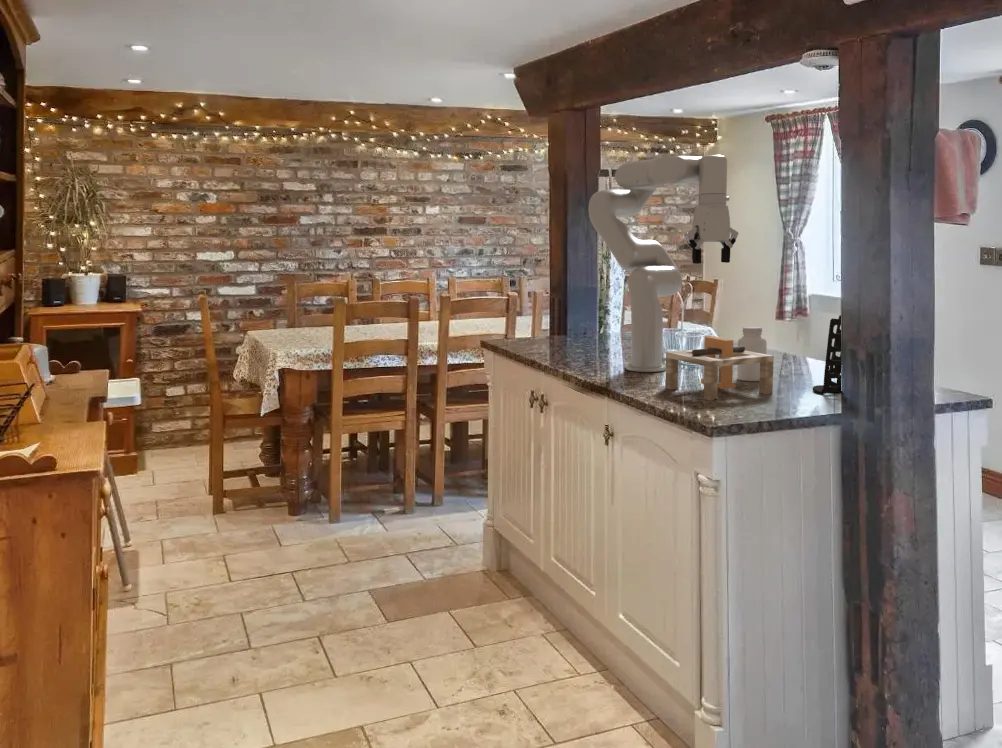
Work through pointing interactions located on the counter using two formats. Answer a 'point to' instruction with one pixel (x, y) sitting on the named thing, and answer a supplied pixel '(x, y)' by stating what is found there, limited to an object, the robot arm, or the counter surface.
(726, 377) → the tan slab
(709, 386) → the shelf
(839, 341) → the holder
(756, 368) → the pill bottle
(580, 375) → the counter surface
